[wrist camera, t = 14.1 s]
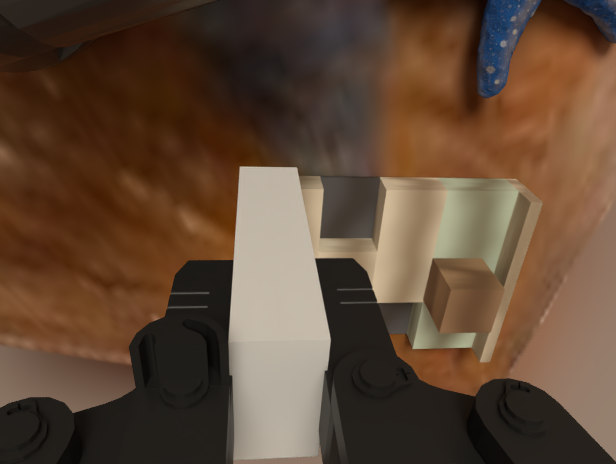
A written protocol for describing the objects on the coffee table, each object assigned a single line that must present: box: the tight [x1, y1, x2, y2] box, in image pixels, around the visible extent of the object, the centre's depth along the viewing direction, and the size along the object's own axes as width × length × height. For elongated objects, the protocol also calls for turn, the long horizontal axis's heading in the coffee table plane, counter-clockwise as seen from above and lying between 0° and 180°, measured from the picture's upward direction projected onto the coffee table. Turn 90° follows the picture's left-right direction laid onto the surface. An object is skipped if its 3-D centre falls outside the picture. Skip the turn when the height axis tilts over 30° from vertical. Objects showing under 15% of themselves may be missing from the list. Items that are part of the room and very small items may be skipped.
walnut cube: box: [423, 258, 505, 333], centre depth 41 cm, size 4×4×4 cm
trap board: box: [299, 176, 543, 362], centre depth 42 cm, size 23×17×4 cm
